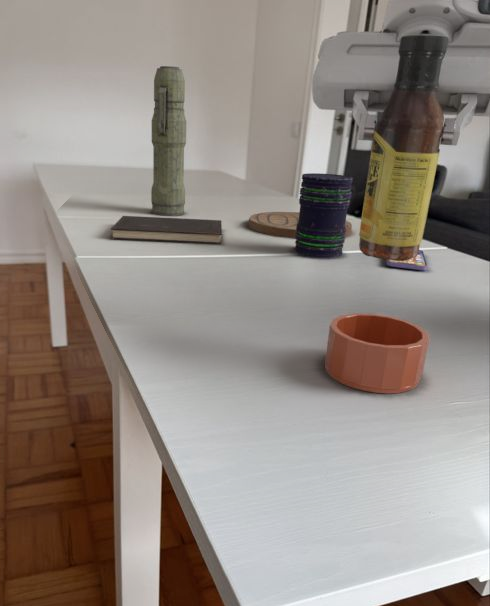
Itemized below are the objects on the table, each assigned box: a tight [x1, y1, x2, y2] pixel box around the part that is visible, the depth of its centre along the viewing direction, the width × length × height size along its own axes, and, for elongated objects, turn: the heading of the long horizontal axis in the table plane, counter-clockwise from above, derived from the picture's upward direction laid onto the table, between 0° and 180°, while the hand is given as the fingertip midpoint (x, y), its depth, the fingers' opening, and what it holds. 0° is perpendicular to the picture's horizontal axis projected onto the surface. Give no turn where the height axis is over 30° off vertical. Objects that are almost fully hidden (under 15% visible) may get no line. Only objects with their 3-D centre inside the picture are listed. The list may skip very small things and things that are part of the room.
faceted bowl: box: [324, 312, 430, 394], centre depth 59 cm, size 10×10×5 cm
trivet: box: [248, 211, 353, 239], centre depth 135 cm, size 25×25×2 cm
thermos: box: [150, 65, 187, 217], centre depth 141 cm, size 9×12×35 cm
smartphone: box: [385, 249, 428, 271], centre depth 108 cm, size 1×7×15 cm
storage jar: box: [294, 172, 354, 260], centre depth 109 cm, size 10×10×15 cm
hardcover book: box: [110, 215, 223, 245], centre depth 121 cm, size 16×23×2 cm
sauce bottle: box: [358, 34, 448, 261], centre depth 53 cm, size 7×6×20 cm
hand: (407, 138), depth 52 cm, fingers closed on sauce bottle, 6 cm apart
